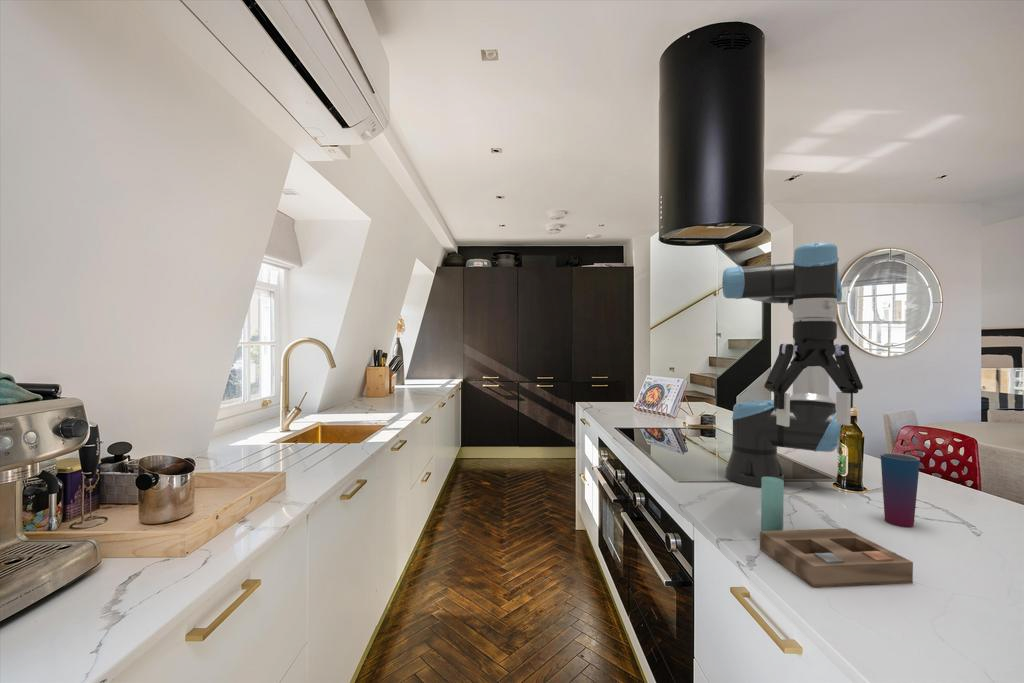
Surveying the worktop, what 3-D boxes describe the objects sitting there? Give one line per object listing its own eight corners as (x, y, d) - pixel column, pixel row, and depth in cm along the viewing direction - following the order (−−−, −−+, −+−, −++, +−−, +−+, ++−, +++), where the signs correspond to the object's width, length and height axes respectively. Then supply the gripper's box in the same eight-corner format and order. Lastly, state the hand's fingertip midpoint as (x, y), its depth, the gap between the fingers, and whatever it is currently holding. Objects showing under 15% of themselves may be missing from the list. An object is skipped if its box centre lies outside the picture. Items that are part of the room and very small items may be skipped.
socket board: (759, 549, 90) (760, 529, 90) (845, 545, 92) (845, 526, 92) (813, 587, 76) (813, 564, 76) (912, 582, 78) (912, 560, 78)
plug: (756, 533, 97) (757, 476, 97) (774, 532, 98) (775, 476, 98) (769, 541, 93) (769, 482, 93) (787, 541, 94) (788, 482, 94)
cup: (926, 530, 100) (927, 461, 100) (890, 527, 101) (891, 459, 101) (906, 518, 107) (907, 453, 107) (873, 516, 108) (874, 451, 108)
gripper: (771, 318, 88) (770, 429, 88) (885, 320, 92) (884, 427, 92) (746, 320, 96) (745, 422, 96) (852, 322, 99) (851, 420, 99)
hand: (813, 425), depth 94 cm, fingers open, 13 cm apart
